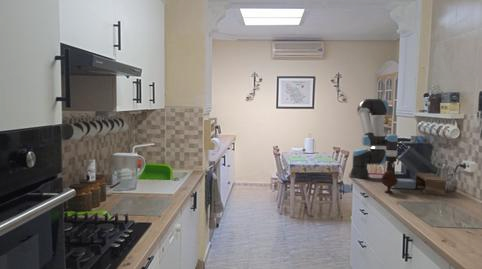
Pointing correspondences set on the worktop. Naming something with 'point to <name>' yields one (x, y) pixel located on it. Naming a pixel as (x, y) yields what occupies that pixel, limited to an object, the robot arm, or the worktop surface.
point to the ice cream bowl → (389, 181)
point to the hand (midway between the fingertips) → (389, 185)
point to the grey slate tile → (405, 184)
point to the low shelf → (430, 183)
